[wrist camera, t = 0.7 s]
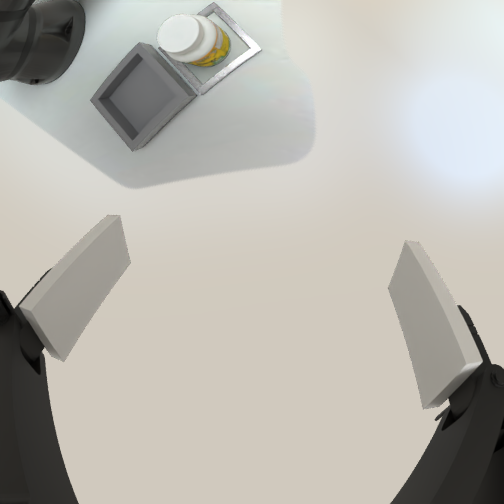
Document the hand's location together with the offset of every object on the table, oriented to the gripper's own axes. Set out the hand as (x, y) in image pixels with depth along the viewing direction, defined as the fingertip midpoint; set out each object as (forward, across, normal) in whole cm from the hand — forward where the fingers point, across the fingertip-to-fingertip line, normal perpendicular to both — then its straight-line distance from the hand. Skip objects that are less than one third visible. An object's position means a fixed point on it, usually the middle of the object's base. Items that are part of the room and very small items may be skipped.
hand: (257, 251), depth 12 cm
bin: (+23, -17, +7) cm, 29 cm away
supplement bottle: (+23, -8, +12) cm, 28 cm away
